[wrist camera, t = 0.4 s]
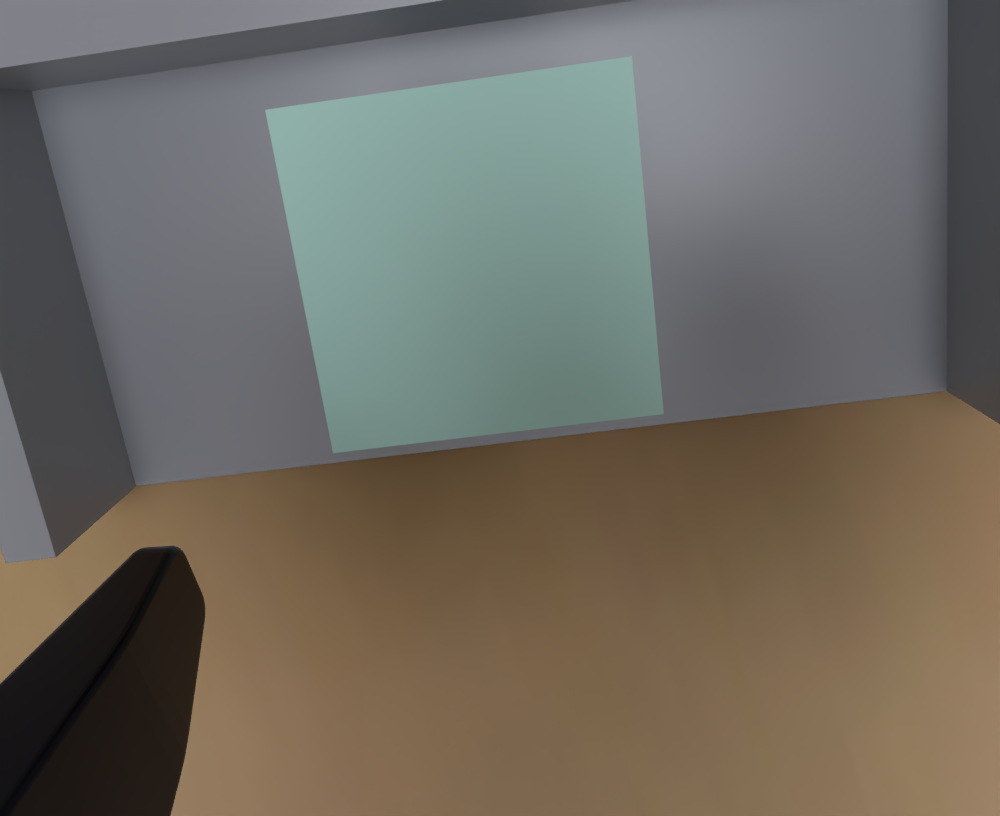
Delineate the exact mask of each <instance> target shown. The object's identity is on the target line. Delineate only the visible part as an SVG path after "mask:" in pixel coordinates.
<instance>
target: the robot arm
mask: <svg viewBox="0 0 1000 816" xmlns="http://www.w3.org/2000/svg"><path fill="white" fill-rule="evenodd" d="M204 621H205V603H204V598H203V595H202V592H201V590H200V588H199V585H198V583H197V581H196V578H195V576H194V574H193V572H192V569H191V567H190V565H189V563H188V560H187V558H186V556H185V554H184V552H183V551H182V550H181V549H180V548H178V547H175V546H164V547H147V548H142V549H139V550H138V551H136V552H134V553H133V554H132V555H131V556H130V557H129V558H128V559H127V560H126V561H125V562H124V563H123V564H122V565H121V566H120V567H119V568H118V569H117V570H116V571H115V572H114V573H113V574H112V575H111V576H110V577H109V578H108V579H107V580H106V581H104V582H103V583H102V584H101V585H100V586H99V587H98V588H97V589H96V590H95V591H94V592H93V593H92V594H91V595H90V596H89V597H88V598H87V599H86V600H85V601H84V602H83V603H82V604H81V605H80V606H79V607H78V608H77V609H76V610H75V611H74V612H73V613H72V614H71V615H70V616H69V617H68V618H67V619H66V620H65V621H64V622H63V623H62V624H61V625H60V626H59V627H58V628H57V629H56V630H55V631H54V632H53V633H52V634H50V635H49V636H48V637H47V638H46V639H45V640H44V641H43V642H42V643H41V644H40V645H39V646H38V647H37V648H36V649H35V650H34V651H33V652H32V653H31V654H30V655H29V656H28V657H27V658H26V659H25V660H24V661H23V662H22V663H21V664H20V665H19V666H18V667H17V668H16V669H15V670H14V671H13V672H12V673H11V674H10V675H9V676H8V677H7V678H6V679H5V680H4V681H3V682H2V683H1V684H0V816H170V815H171V811H172V807H173V803H174V799H175V795H176V791H177V788H178V784H179V780H180V776H181V771H182V767H183V763H184V758H185V754H186V748H187V742H188V736H189V729H190V722H191V715H192V708H193V700H194V693H195V686H196V679H197V672H198V665H199V657H200V650H201V643H202V636H203V629H204Z"/></svg>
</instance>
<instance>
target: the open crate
mask: <svg viewBox="0 0 1000 816" xmlns="http://www.w3.org/2000/svg"><path fill="white" fill-rule="evenodd" d="M630 56H632V64H633V75H634V86H635V97H636V109H637V120H638V131H639V142H640V154H641V165H642V176H643V187H644V198H645V210H646V221H647V232H648V243H649V255H650V266H651V277H652V288H653V299H654V311H655V322H656V333H657V344H658V356H659V367H660V378H661V389H662V401H663V412H664V414H660V415H652V416H643V417H635V418H626V419H618V420H609V421H601V422H592V423H584V424H576V425H567V426H559V427H550V428H542V429H533V430H525V431H516V432H508V433H499V434H491V435H482V436H474V437H466V438H457V439H449V440H440V441H432V442H423V443H415V444H406V445H398V446H389V447H381V448H372V449H364V450H355V451H347V452H339V453H333V451H332V446H331V440H330V435H329V430H328V425H327V420H326V415H325V410H324V405H323V400H322V395H321V390H320V385H319V380H318V375H317V370H316V365H315V360H314V354H313V349H312V344H311V339H310V334H309V329H308V324H307V319H306V314H305V309H304V304H303V299H302V294H301V289H300V284H299V279H298V274H297V269H296V263H295V258H294V253H293V248H292V243H291V238H290V233H289V228H288V223H287V218H286V213H285V208H284V203H283V198H282V193H281V188H280V183H279V177H278V172H277V167H276V162H275V157H274V152H273V147H272V142H271V137H270V132H269V127H268V122H267V117H266V112H265V110H267V109H274V108H281V107H288V106H294V105H301V104H308V103H315V102H322V101H329V100H336V99H342V98H349V97H356V96H363V95H370V94H377V93H383V92H390V91H397V90H404V89H411V88H418V87H424V86H431V85H438V84H445V83H452V82H459V81H465V80H472V79H479V78H486V77H493V76H500V75H506V74H513V73H520V72H527V71H534V70H541V69H547V68H554V67H561V66H568V65H575V64H582V63H589V62H595V61H602V60H609V59H616V58H623V57H630ZM942 391H948V392H950V393H951V394H953V395H954V396H956V397H958V398H959V399H961V400H962V401H964V402H966V403H967V404H969V405H970V406H972V407H974V408H975V409H977V410H978V411H980V412H982V413H983V414H985V415H986V416H988V417H990V418H991V419H993V420H995V421H996V422H998V423H999V424H1000V0H0V547H1V550H2V553H3V556H4V560H5V563H11V562H20V561H28V560H37V559H46V558H55V557H57V556H58V555H59V554H60V553H61V552H63V551H64V550H65V549H66V548H67V547H68V546H69V545H70V544H72V543H73V542H74V541H75V540H76V539H77V538H78V537H79V536H81V535H82V534H83V533H84V532H85V531H86V530H87V529H88V528H90V527H91V526H92V525H93V524H94V523H95V522H96V521H97V520H99V519H100V518H101V517H102V516H103V515H104V514H105V513H106V512H108V511H109V510H110V509H111V508H112V507H113V506H114V505H115V504H117V503H118V502H119V501H120V500H121V499H122V498H123V497H124V496H125V495H127V494H128V493H129V492H130V491H131V490H132V489H133V488H134V487H136V486H141V485H150V484H158V483H167V482H175V481H184V480H192V479H201V478H209V477H218V476H226V475H235V474H243V473H252V472H261V471H269V470H278V469H286V468H295V467H303V466H312V465H320V464H329V463H337V462H346V461H354V460H363V459H371V458H380V457H388V456H397V455H405V454H414V453H422V452H431V451H439V450H448V449H457V448H465V447H474V446H482V445H491V444H499V443H508V442H516V441H525V440H533V439H542V438H550V437H559V436H567V435H576V434H584V433H593V432H601V431H610V430H618V429H627V428H635V427H644V426H652V425H661V424H670V423H678V422H687V421H695V420H704V419H712V418H721V417H729V416H738V415H746V414H755V413H763V412H772V411H780V410H789V409H797V408H806V407H814V406H823V405H831V404H840V403H848V402H857V401H866V400H874V399H883V398H891V397H900V396H908V395H917V394H925V393H934V392H942Z"/></svg>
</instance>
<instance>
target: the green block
mask: <svg viewBox="0 0 1000 816" xmlns="http://www.w3.org/2000/svg"><path fill="white" fill-rule="evenodd" d="M265 112H266V117H267V122H268V127H269V132H270V137H271V142H272V147H273V152H274V157H275V162H276V167H277V172H278V177H279V183H280V188H281V193H282V198H283V203H284V208H285V213H286V218H287V223H288V228H289V233H290V238H291V243H292V248H293V253H294V258H295V263H296V269H297V274H298V279H299V284H300V289H301V294H302V299H303V304H304V309H305V314H306V319H307V324H308V329H309V334H310V339H311V344H312V349H313V354H314V360H315V365H316V370H317V375H318V380H319V385H320V390H321V395H322V400H323V405H324V410H325V415H326V420H327V425H328V430H329V435H330V440H331V446H332V451H333V453H339V452H347V451H355V450H364V449H372V448H381V447H389V446H398V445H406V444H415V443H423V442H432V441H440V440H449V439H457V438H466V437H474V436H482V435H491V434H499V433H508V432H516V431H525V430H533V429H542V428H550V427H559V426H567V425H576V424H584V423H592V422H601V421H609V420H618V419H626V418H635V417H643V416H652V415H660V414H664V412H663V401H662V389H661V378H660V367H659V356H658V344H657V333H656V322H655V311H654V299H653V288H652V277H651V266H650V255H649V243H648V232H647V221H646V210H645V198H644V187H643V176H642V165H641V154H640V142H639V131H638V120H637V109H636V97H635V86H634V75H633V64H632V56H630V57H623V58H616V59H609V60H602V61H595V62H589V63H582V64H575V65H568V66H561V67H554V68H547V69H541V70H534V71H527V72H520V73H513V74H506V75H500V76H493V77H486V78H479V79H472V80H465V81H459V82H452V83H445V84H438V85H431V86H424V87H418V88H411V89H404V90H397V91H390V92H383V93H377V94H370V95H363V96H356V97H349V98H342V99H336V100H329V101H322V102H315V103H308V104H301V105H294V106H288V107H281V108H274V109H267V110H265Z"/></svg>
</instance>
